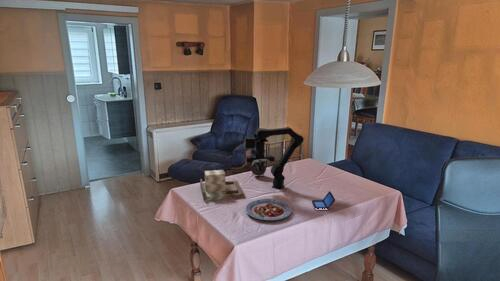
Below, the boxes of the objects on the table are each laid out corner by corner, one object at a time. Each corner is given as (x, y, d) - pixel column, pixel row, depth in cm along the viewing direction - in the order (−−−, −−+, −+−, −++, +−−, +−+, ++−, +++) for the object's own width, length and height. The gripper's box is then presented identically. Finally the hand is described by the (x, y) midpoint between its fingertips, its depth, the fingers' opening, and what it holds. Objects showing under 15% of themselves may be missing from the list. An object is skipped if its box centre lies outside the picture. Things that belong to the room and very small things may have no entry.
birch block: (223, 185, 211) (223, 169, 208) (225, 190, 203) (225, 174, 200) (205, 187, 208) (204, 171, 205) (206, 192, 200) (205, 175, 197)
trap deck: (237, 183, 220) (237, 176, 219) (244, 197, 200) (244, 188, 198) (200, 186, 214) (200, 179, 213) (203, 200, 194) (203, 192, 192)
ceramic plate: (273, 198, 199) (273, 194, 198) (300, 215, 178) (301, 211, 177) (236, 208, 185) (236, 203, 184) (262, 228, 164) (262, 222, 163)
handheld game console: (311, 201, 195) (312, 190, 193) (329, 202, 195) (330, 190, 193) (315, 211, 183) (316, 199, 181) (334, 211, 183) (335, 199, 181)
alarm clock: (266, 175, 237) (266, 154, 233) (265, 178, 232) (266, 156, 228) (251, 174, 238) (251, 153, 234) (250, 177, 233) (250, 155, 229)
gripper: (270, 144, 216) (268, 166, 220) (243, 145, 211) (242, 168, 215) (275, 149, 206) (274, 172, 210) (247, 150, 201) (246, 173, 205)
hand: (259, 171), depth 210 cm, fingers closed
